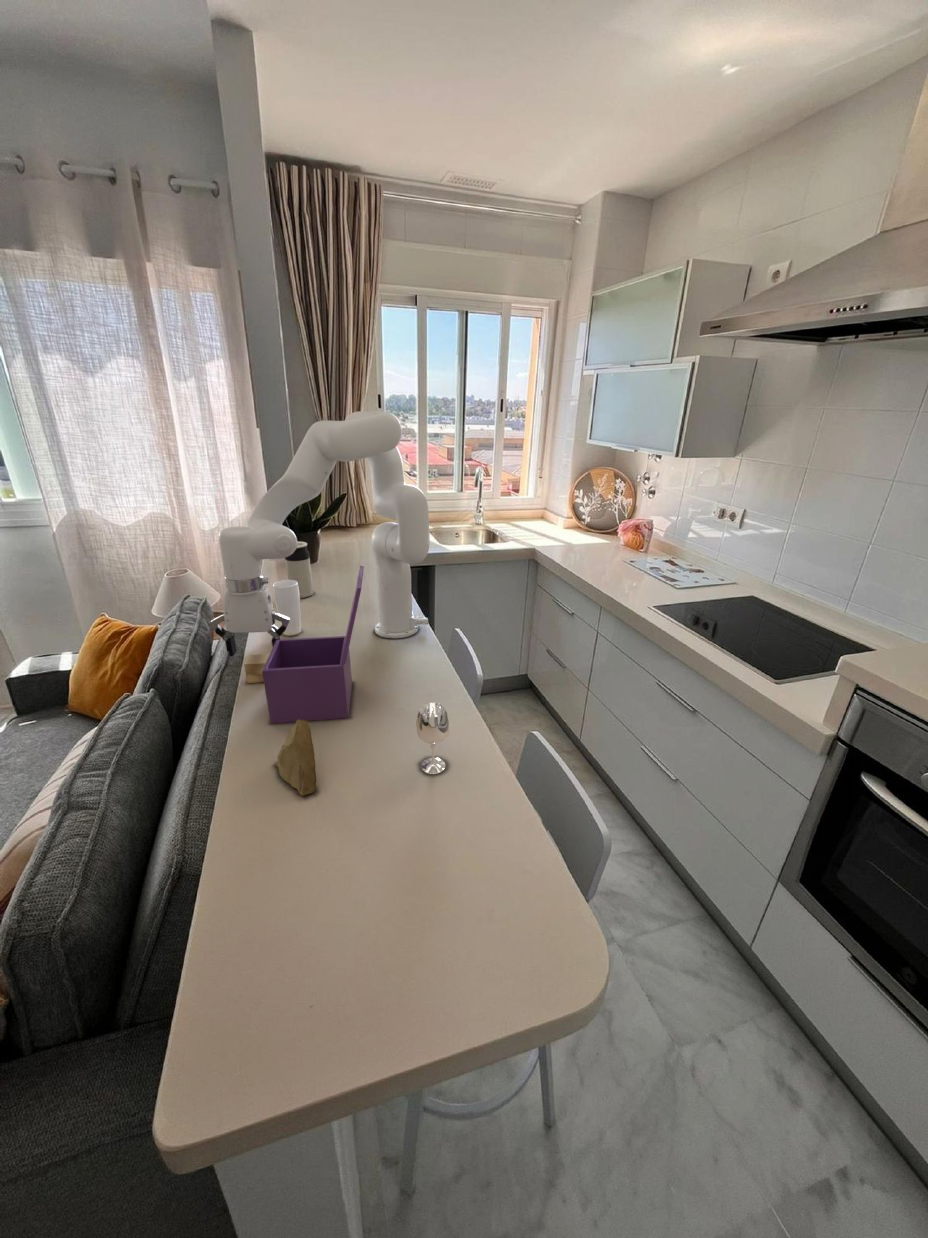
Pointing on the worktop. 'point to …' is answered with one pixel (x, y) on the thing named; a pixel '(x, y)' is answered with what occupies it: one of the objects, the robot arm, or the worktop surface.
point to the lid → (352, 614)
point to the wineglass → (432, 733)
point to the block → (255, 667)
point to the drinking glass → (288, 604)
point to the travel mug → (300, 569)
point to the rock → (298, 759)
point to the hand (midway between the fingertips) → (255, 653)
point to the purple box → (307, 680)
